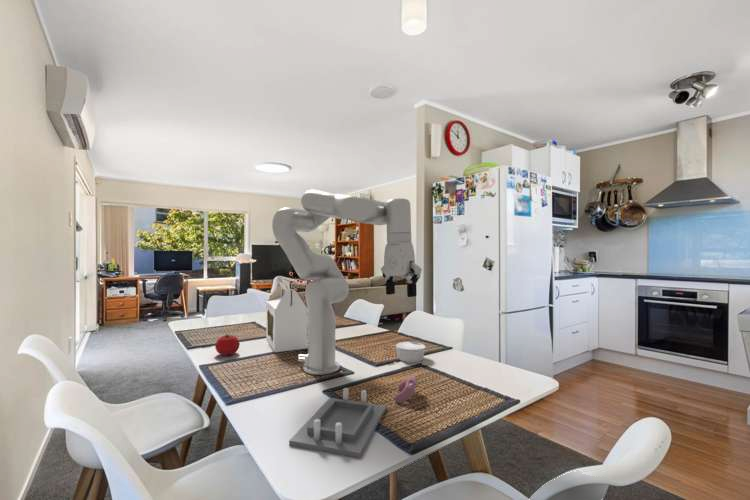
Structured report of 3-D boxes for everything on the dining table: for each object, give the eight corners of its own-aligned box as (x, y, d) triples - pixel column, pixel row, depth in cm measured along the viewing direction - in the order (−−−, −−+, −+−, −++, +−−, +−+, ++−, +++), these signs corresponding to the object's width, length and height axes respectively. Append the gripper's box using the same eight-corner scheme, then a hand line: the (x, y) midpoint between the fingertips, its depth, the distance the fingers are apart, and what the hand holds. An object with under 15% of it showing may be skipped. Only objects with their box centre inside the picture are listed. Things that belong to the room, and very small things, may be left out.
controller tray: (289, 445, 75) (289, 421, 75) (329, 401, 96) (329, 383, 96) (359, 457, 70) (360, 433, 70) (386, 409, 92) (386, 390, 92)
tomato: (210, 356, 134) (210, 336, 134) (224, 350, 142) (224, 330, 142) (230, 358, 132) (230, 337, 132) (244, 351, 140) (244, 332, 140)
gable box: (266, 339, 160) (266, 278, 159) (295, 336, 165) (295, 277, 165) (274, 352, 140) (275, 283, 139) (307, 348, 145) (307, 281, 145)
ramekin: (430, 357, 135) (430, 344, 135) (417, 366, 126) (417, 351, 126) (404, 353, 141) (404, 340, 141) (390, 360, 132) (390, 346, 132)
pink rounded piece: (407, 411, 94) (419, 389, 94) (392, 401, 95) (404, 380, 94) (410, 395, 104) (421, 375, 103) (397, 387, 105) (408, 367, 104)
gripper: (372, 240, 111) (373, 294, 111) (409, 237, 98) (411, 299, 97) (390, 240, 116) (391, 292, 116) (428, 238, 102) (430, 296, 102)
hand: (400, 295), depth 107 cm, fingers open, 9 cm apart
